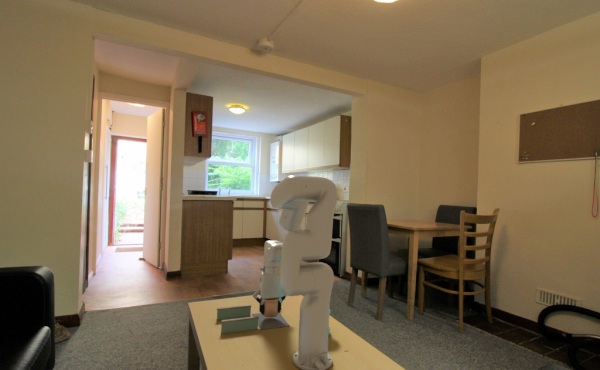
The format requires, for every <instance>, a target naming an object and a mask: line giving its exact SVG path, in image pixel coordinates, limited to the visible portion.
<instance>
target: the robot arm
mask: <svg viewBox="0 0 600 370" xmlns="http://www.w3.org/2000/svg"><path fill="white" fill-rule="evenodd" d="M269 199H270V206H271V207H272V208H273V209H275V210H281V214H280V216H279V220H278V224H279V225H280V227H281V228H282V229H284V230H285V231H287V233H286V235H284V239H283V241H280V240H275V239H270V240H266V241H265V242H264V244H263V245H264V246H263V247H264V248H263V265H262V267H260V268H259V272H261V273H260V278H259V283H258V285H259V286H258V289H257V290H256V291H255V292H254V293H253V294H252V298H254V299H255V300H256V301H257V303H259V309H258V310H259V313H261V314H262V315H263V314H264V300H265V299H272V298H279V301H278V313H280V314H281V310H282V303H283V301H284V300H286V298H287V297H298V296H303V297H302V300H301V302H300V306H299V324H298V326H299V327H298V345H297V346H298V348H297V349H298V350H297V351H295V352H294V354H293V356H292V361H293V364H294V365H295V366H296V367H297V368H298V369H301V370H328V369H329V368H331V366H332V364H333V358H332V356H331V354H330V353H329V352H328V351H329V335H328V330H329V328H330V316H329V308H330V303H331V294H332V290H333V287H334V281H335V275H334V271H333V269H332V267H331V266H330V265H328V263H324V262H321V261H319V262H318V261H316V262H305V261H313V260H322V259H325V258H327V257H328V256H330V254H331V249H332V243H333V242H332V239H333V228H334V225H333V224H334V215H335V211H336V206H337V202H338V189H337V187H336V184H335V182H334V181H332V180H331V179H329V178H327V177H321V176H310V175H309V176H307V175H288V176H286V177H285V178H284V179H282V180H281V181H280V182H279V183H277V184H276V185H275V186H274V187H273V189H272V191H271V194H270V197H269ZM310 202H312V203H313V202H314V204H313V205H312V206H311V207H310V209H309V210H308V213H307V215H306V225H305V228H304V229H303V228H302V226H301V225H302V223H303V220H304V218H305V214H306V210H307V208H308V205H309V203H310ZM303 261H304V262H305V263H302V262H303ZM259 296H260V297H259Z"/></svg>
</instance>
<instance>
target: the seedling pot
mask: <svg viewBox="0 0 600 370" xmlns="http://www.w3.org/2000/svg"><path fill="white" fill-rule="evenodd" d="M278 301H279V298H272V299H265V300H264V314H263V316H265V317H276V316H277V315H278Z"/></svg>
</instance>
